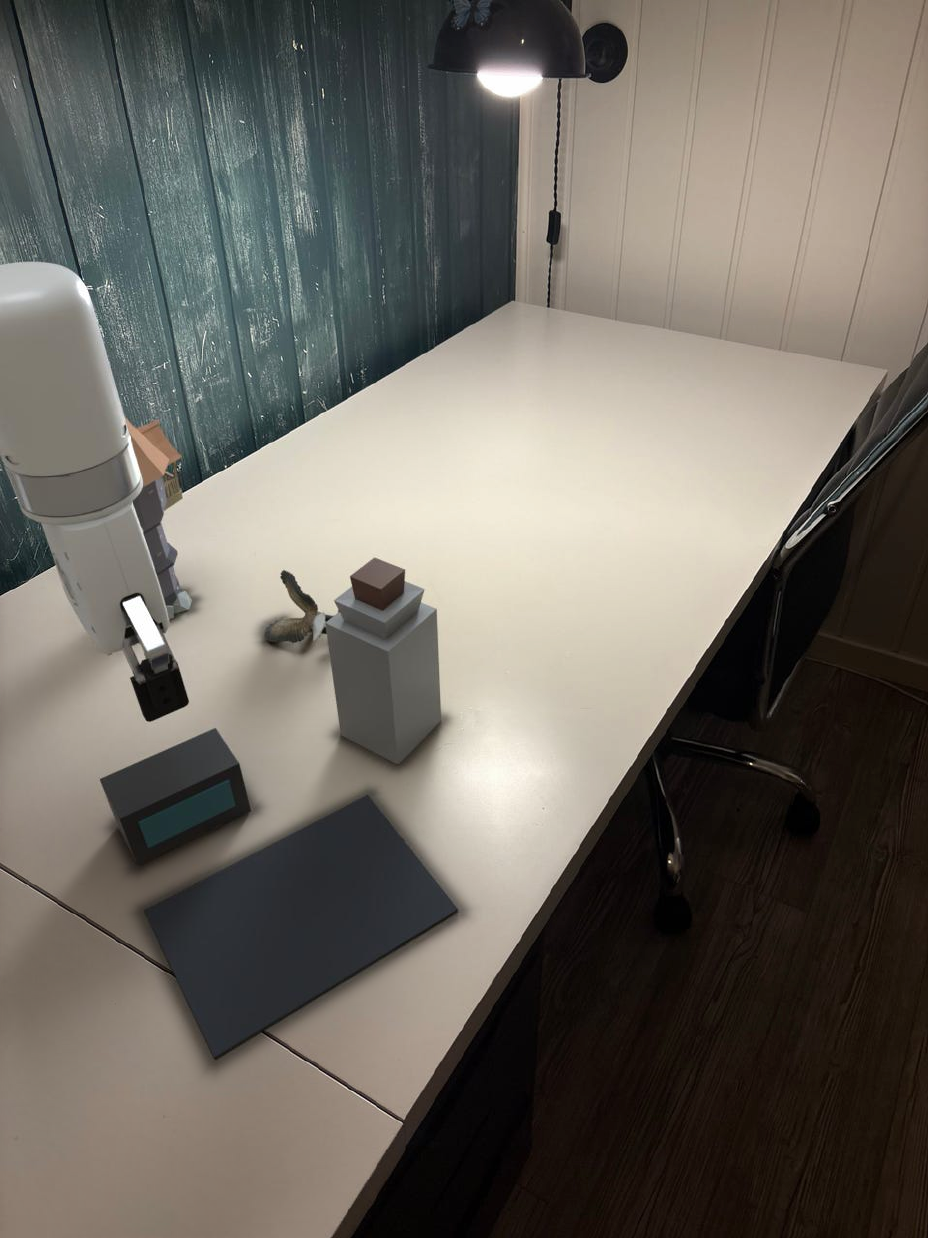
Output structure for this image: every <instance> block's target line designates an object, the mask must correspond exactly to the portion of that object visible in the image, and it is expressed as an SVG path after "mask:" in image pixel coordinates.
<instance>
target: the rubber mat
mask: <svg viewBox="0 0 928 1238" xmlns="http://www.w3.org/2000/svg"><path fill="white" fill-rule="evenodd" d="M143 912H144V914H145V916H146V919H147V920H148V923H149V924H150V926H151V929H152V931H153V933H154V935H155V937H156V939H157V941H158V943H159V945H160V947H161V949H162V953H163V954H164V956H165V958H166V960H167V963H168V965H169V966H170V968H171V971H172V972H173V973H172V974H173V975H174V977H175V980H176V981H177V983H178V985H179V987H180V990H181V991H182V994H183V996H184V998H185V1000H186V1002H187V1004H188V1006H189V1008H190V1010H191V1013H192V1014H193V1016H194V1019H195V1021H196V1023H197V1025H198V1027H199V1029H200V1031H201V1033H202V1035H203V1037H204V1039H205V1042H206V1044H207V1046H208V1048H209V1050H210V1052H211V1054H212V1057H213V1058H214V1060H217V1059H218V1058H220V1057H222V1056H223V1055H225V1054H227V1053H228V1052H230V1051H232V1050H234V1049H235V1048H236V1047H238V1046H240V1045H241V1044H243V1043H245V1042H246V1041H248V1040H249V1039H251V1038H253V1037H254V1036H256V1035H258V1034H260V1033H261V1032H263V1031H264V1030H266V1029H268V1028H269V1027H271V1026H272V1025H274V1024H276V1023H278V1022H279V1021H281V1020H283V1019H284V1018H285V1017H287V1016H289V1015H291V1014H293V1013H294V1012H296V1011H297V1010H299V1009H300V1008H302V1007H304V1006H305V1005H307V1004H309V1003H310V1002H312V1001H314V1000H315V999H317V998H318V997H320V996H321V995H323V994H325V993H326V992H328V991H330V990H331V989H333V988H335V987H337V986H338V985H340V984H342V983H343V982H345V981H346V980H348V979H349V978H351V977H353V976H355V975H356V974H358V973H359V972H361V971H363V970H365V969H366V968H368V967H370V966H371V965H372V964H375V963H376V962H377V961H379V960H381V959H383V958H384V957H386V956H387V955H389V954H390V953H392V952H394V951H395V950H397V949H399V948H400V947H402V946H403V945H406V944H407V943H409V942H410V941H412V940H414V939H415V938H417V937H419V936H420V935H422V934H423V933H425V932H426V931H429V930H430V929H431V928H433V927H435V926H437V925H438V924H439V923H441V922H443V921H445V920H446V919H448V918H450V917H451V916H453V915H455V914H456V913H458V912H459V908H458V907H457V906H456V905H455V903H454V902H453V901H452V899H451V898H450V897H449V896H448V895H447V893H446V892H445V890H444V889H443V888H442V887H441V885H439V882H438V881H436V879H435V878H434V877H433V876H432V874H431V873H430V872H429V870H428V869H427V868H426V867H425V865H424V864H423V863H422V862H421V860H420V859H419V858H418V856H417V855H416V854H415V853H414V851H413V850H412V848H410V846H409V845H408V844H407V842H406V841H405V839H403V837H402V836H401V835H400V834H399V832H398V831H397V830H396V829H395V827H394V826H393V825H392V824H391V822H390V821H389V820H388V818H387V817H386V816H385V815H384V814H383V812H382V811H381V810H380V808H379V807H378V805H376V803H375V802H374V801H373V799H371V797H370V796H369V794H366V795H364V796H362V797H360V798H358V799H357V800H355V801H353V802H351V803H348V804H346V805H345V806H343V807H341V808H339V809H337V810H335V811H333V812H331V813H329V814H327V815H325V816H323V817H322V818H320V819H318V820H316V821H313V822H312V823H310V824H308V825H306V826H304V827H302V828H300V829H298V830H296V831H294V832H292V833H290V834H289V835H287V836H285V837H283V838H281V839H279V840H277V841H275V842H273V843H271V844H269V845H267V846H265V847H263V848H261V849H260V850H258V851H255V852H254V853H251V854H250V855H248V856H245V857H244V858H242V859H240V860H238V861H236V862H234V863H233V864H231V865H229V866H226V867H224V868H222V869H221V870H219V871H216V872H215V873H213V874H211V875H209V876H207V877H205V878H203V879H201V880H199V881H197V882H195V883H194V884H191V885H189V886H187V887H186V888H184V889H182V890H180V891H177V892H176V893H174V894H172V895H170V896H168V897H166V898H164V899H163V900H160V901H158V902H156V903H155V904H153V905H151V906H149V907H146V908H145V909H143Z"/></svg>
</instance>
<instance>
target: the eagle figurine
mask: <svg viewBox="0 0 928 1238" xmlns="http://www.w3.org/2000/svg"><path fill="white" fill-rule="evenodd" d="M279 575H280V577H279V578H280V580H281V581H282V584H283V585H284V586H285V588H286V590H287V594H288V596H289V598H290V600H291V601H292V602H293V603H294V604H295V605H296V606H297V607H298V608H299V609H300V610H301V611H302V612H303V613H304V616H303V617H287V618H286V617H280V618H279V619H276V620H275V621H273V622H270V623H269V624H268V625H267V626H266V627H265V631H264V633H265V635H264V637H265V640H266V641H267V642H270V643H271V642H272V643H276V642H278V643H279V642H288V643H291V644H294V643H300V642H302V641H304V640H305V637H307V636H308V634H310V633H312V636H313V638H312V641H313V642H315V641H317V640H318V639H319V638H320V637H321V634H322V635H327V632H326V625H325V623H326V622H327V621H328V620H330V619H331V618H332V617H333V616H335V615H336V614H335V615H331V614H325V611H323V612H321V611H318V610H319V607H318V604H317V603H316V601H315V600H314V598H313V597H311V595H310V594H307V593H306V592H304V591H303V590H302V588H301V586H300V585H299V584H298V581H297V580H296V576H295V575H294V574H293V573H291V572H289V571H287V570H286V569H283V570H281V572H280V574H279ZM338 612H339V610H338V609H337V613H338Z"/></svg>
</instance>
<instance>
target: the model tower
mask: <svg viewBox="0 0 928 1238" xmlns="http://www.w3.org/2000/svg"><path fill="white" fill-rule="evenodd" d="M124 417H125V420H126V424H127V427H128V431H129V434H130V438H131V441H132V445H133V448H134V452H135V455H136V459H137V462H138V466H139V469H140V472H141V476H142V479H143V488H142V490H141V492H140V494H139V495H138V496H137V497H136V498H135V499H134V500H133V501H132V502H133V505H134V508H135V511H136V514H137V517H138V520H139V523H140V526H141V528H142V529H143V534H144V537H145V540H146V543H147V546H148V549H149V552H150V555H151V559H152V562H153V565H154V568H155V571H156V574H157V577H158V581H159V584H160V587H161V591H162V594H163V597H164V601H165V605H166V609H167V613H168V617H169V621H170V620H173V619H175V615H176V614H179V613H183V612H186V611H189V610H190V607H191V604H192V602H193V600H192V598H191V597H190V596H189V594H188V592H187V591H186V590H182V588H181V585H180V582H179V580H178V578H177V576H176V571H175V567H174V566H175V563H176V560H177V558H178V554H179V553H178V550H177V549H176V548H175V547H173V545H171V544H170V543H169V542H168V540H167V537H166V534H165V530H164V527H163V524H162V521H163V518H164V515H165V511H166V510H168V509H170V508H171V507H172V506H174V505H175V504H177V503H178V502H180V501H181V500H183V499H184V498H183V492H182V489H181V487H180V483H179V476H178V473H177V465H178V464H177V461H178V460H179V459H181V458H183V456H182V455H181V454H180V453H179V452H178V451H177V450H176V449H175V446H173V445H172V444H171V442H170V441H169V440H168V438H167V436H166V434H165V432H164V431H163V429H162V427H161V425H160V423H159V420H158V419H155V420H153V421H151V422H149V423H147V424H144V425H142V426H138V427H135V426H134V425H133V424H132V423H131V422H130V421H129V420H128V418H127V417H126V416H125V415H124ZM170 465H171V466H172V471H173V472H172V473H173V474H172V473H170V472H169V471H166V470H167V468H168V466H170Z"/></svg>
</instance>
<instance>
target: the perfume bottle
mask: <svg viewBox="0 0 928 1238" xmlns="http://www.w3.org/2000/svg"><path fill="white" fill-rule="evenodd" d="M349 579H350V583H351V587H349V588H348V589H346V590H345V591H344V592H343V593H341V594H339V596H337V597H336V598H334V600H333V602H334V604H335V606H336V607H337V613H336V614H335V616H333V615H332V616H333V617H332V618H331V619H330V620H328V621H327V622H325V627H326V632H327V634H326V638H327V639H326V640H327V645H328V653H329V660H330V667H331V672H332V673H331V674H332V681H333V689H334V696H335V704H336V712H337V718H338V719H337V720H338V724H339V725H338V727H339V732H340V736H342V737H343V738H345V739H347V740H349V741H351V742H353V743H355V744H357V745H359V746H361V747H362V748H364V749H366V750H368V751H371V752H372V753H374V754H375V755H378V756H380V757H381V758H384V759H385V760H388V761H390V762H391V763H393V764H395V765H397V766H399V765H400V764H401V763H402V762H403V761H404V760H405V758H407V757H408V755H409V754H411V752H413V750H415V748H416V747H417V746H418V745H419V744H420V743H421V742H422V741H423V740H424V739H425V738H426V737H428V735H429V734H430V733H431V732H433V730H434V729H435V728H436V727H437V726H438V725H439V724H440V723H441V722H442V705H441V703H442V702H441V681H440V657H439V655H440V654H439V633H438V631H439V630H438V629H439V628H438V609H437V608H435V607H433V606H431V605H428V604H426V603H425V602H422V600H423V596H424V593H425V588H423V587H420V586H418V585H415V584H413V583H410V582H409V581H406V569H405V568H402V567H400V566H397V565H395V564H392V563H390V562H387V561H385V560H382V559H380V558H377V557H373V558H372V559H370V560H369V561H368V562H366V563H365V564H364V565H363V566H361V567H360V568H359V569H357V570H356V571H354V572H353V573H352V574H351V575H349ZM338 610H339V612H338Z"/></svg>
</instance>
